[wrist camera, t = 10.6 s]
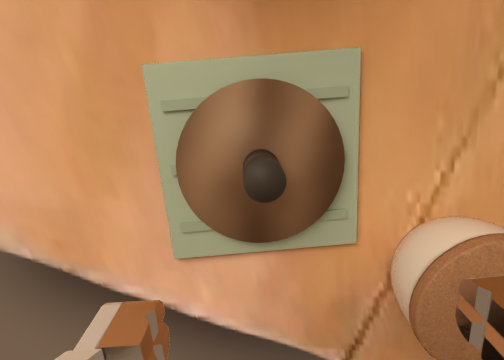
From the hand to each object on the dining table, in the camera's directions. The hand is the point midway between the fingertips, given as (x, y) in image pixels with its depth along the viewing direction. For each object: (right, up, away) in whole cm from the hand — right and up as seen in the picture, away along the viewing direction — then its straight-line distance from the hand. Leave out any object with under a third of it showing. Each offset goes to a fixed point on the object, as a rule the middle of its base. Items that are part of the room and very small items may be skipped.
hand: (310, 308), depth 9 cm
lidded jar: (+15, -3, +21) cm, 26 cm away
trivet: (-1, +5, +17) cm, 18 cm away
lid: (-1, +5, +16) cm, 17 cm away
